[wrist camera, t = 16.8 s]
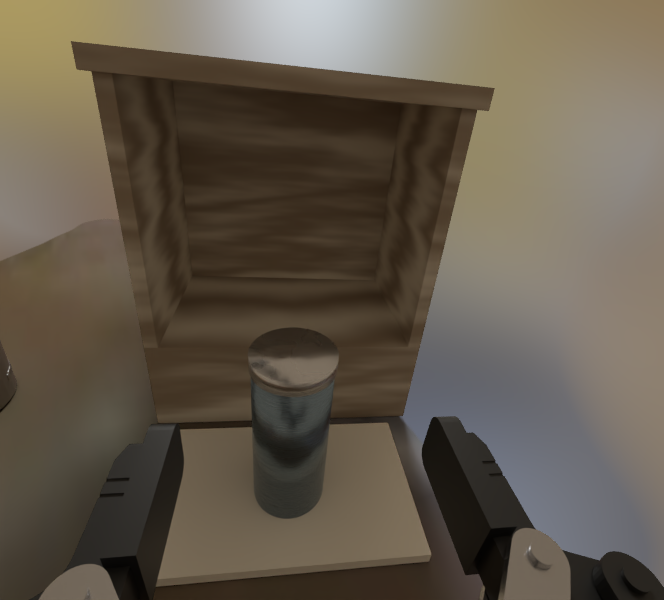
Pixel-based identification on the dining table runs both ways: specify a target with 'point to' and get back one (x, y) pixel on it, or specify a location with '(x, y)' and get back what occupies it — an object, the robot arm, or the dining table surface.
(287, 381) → the tin
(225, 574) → the tile
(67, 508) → the dining table surface
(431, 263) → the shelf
